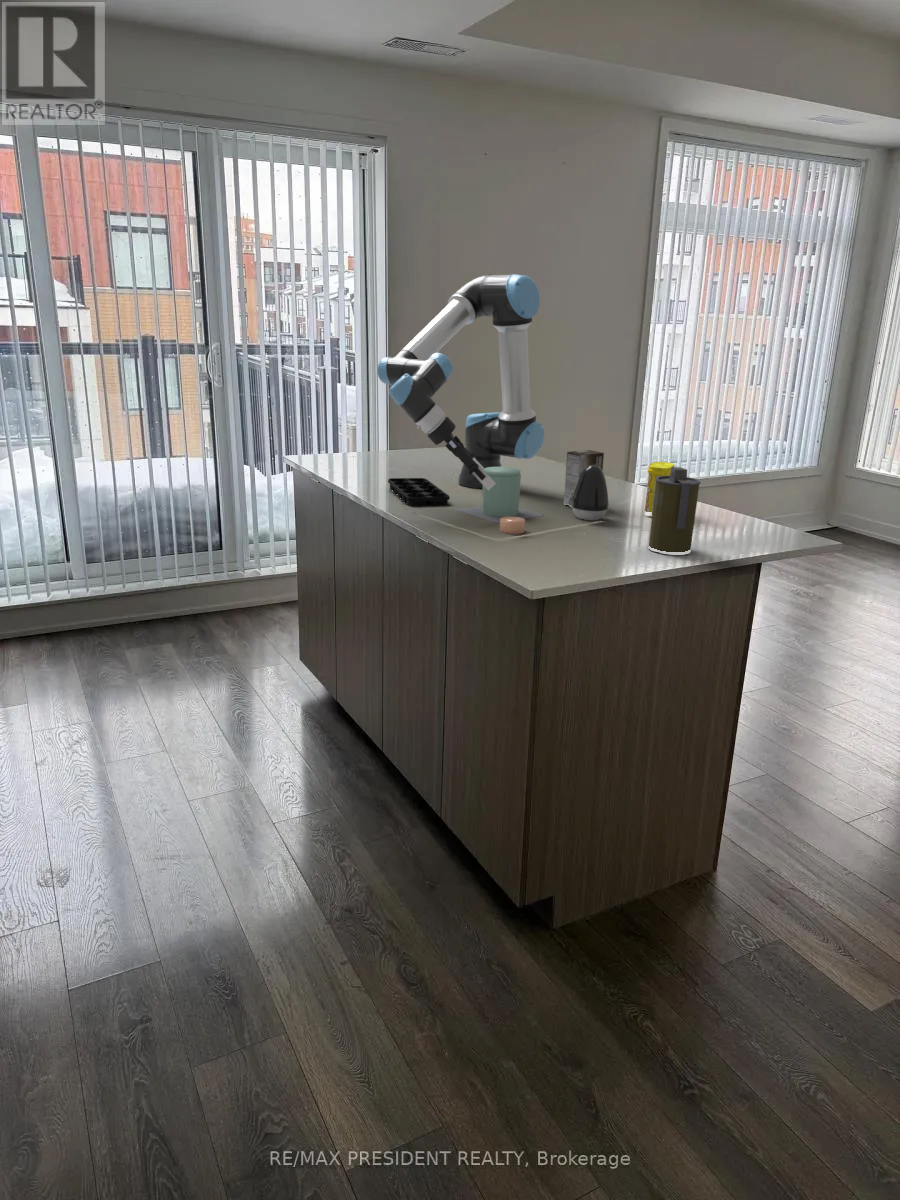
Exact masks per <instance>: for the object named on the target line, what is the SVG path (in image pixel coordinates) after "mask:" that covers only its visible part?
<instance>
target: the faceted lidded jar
mask: <svg viewBox="0 0 900 1200" xmlns="http://www.w3.org/2000/svg"><path fill="white" fill-rule="evenodd" d="M484 471H485V472H486V474H487V475H488V476H489V477H490V478H491V479H492V480H493V481H494V482H495V483H496V484H495V485H494V486H493V487H492V488H491V489H489V490H487V489H486V488H485V487H484V485H483V488H482V494H481V496H482V497H481V506H482V513H483V514H486V515H489V516H497V517H510V516H516V515H517V514H518V513H519V508H520V492H521V479H522V478H521V477H522V476H521V475H522V474H521V469H518V468H516V467H508V466H501V467H488V468H485V469H484Z"/></svg>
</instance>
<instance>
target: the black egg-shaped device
mask: <svg viewBox="0 0 900 1200" xmlns="http://www.w3.org/2000/svg"><path fill="white" fill-rule="evenodd" d="M603 471H604V470H603ZM603 471H602V470H601V468H600V467H598V466H597V465H589V466H587V467H586V468H585V469H584V470H583V471H582V473H581V475H580V476H579V479H578V481H577V484H576V487H575V490H574V493H573V497H572V502H571V506H572V508H571V509H572V512H573V514H574V516H575V518H577V519H579V520H583V519H584V520H585V521H599V519H600V520H602V518H604V517H605V514H607V511H608V509H609V505H610V504H609V501H610V500H609V492H608V491H609V489H608V485H607V484H608V483H607V479H606V477H605V474H604V472H603Z"/></svg>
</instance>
